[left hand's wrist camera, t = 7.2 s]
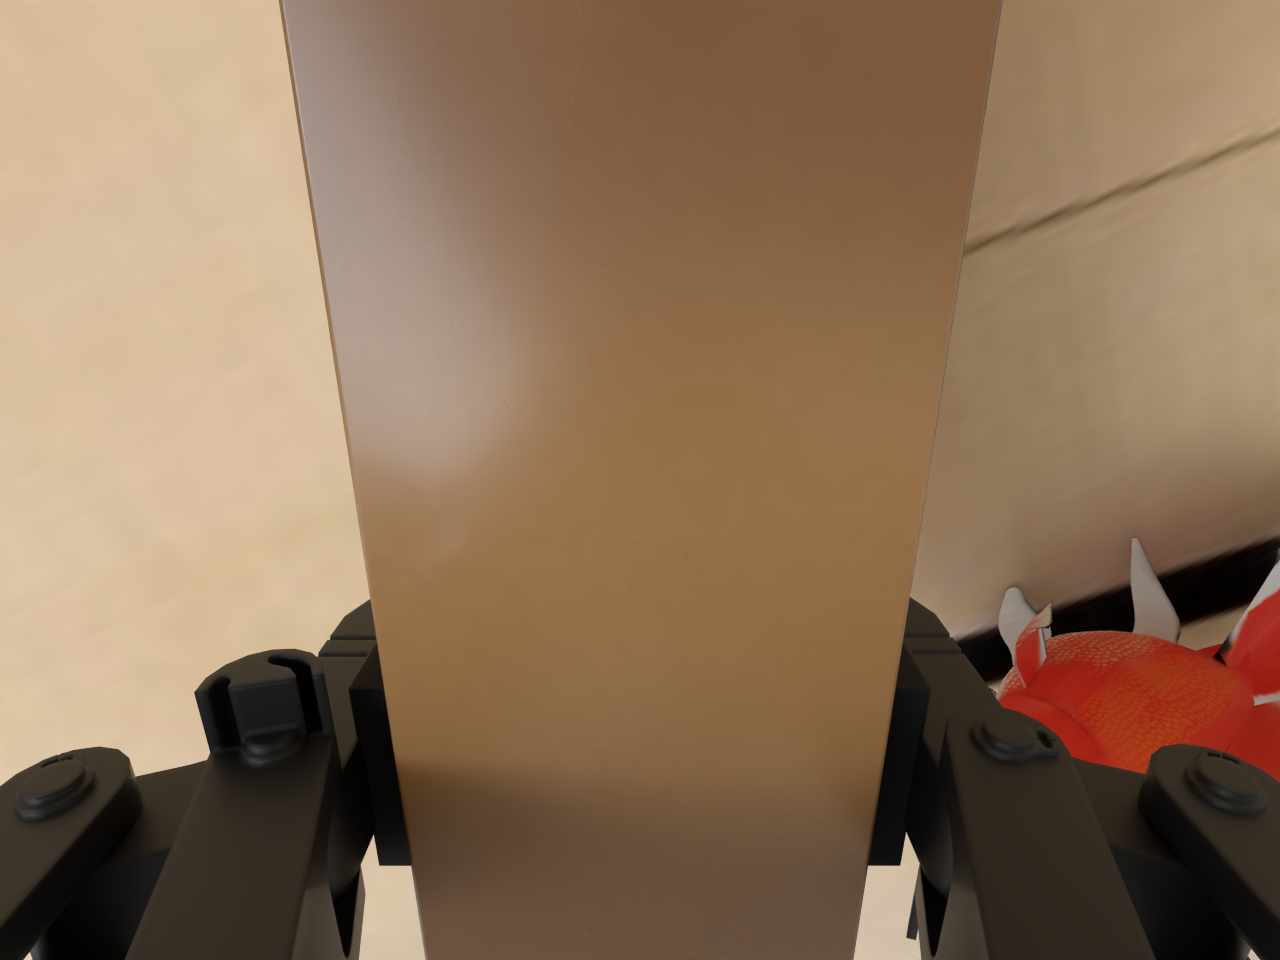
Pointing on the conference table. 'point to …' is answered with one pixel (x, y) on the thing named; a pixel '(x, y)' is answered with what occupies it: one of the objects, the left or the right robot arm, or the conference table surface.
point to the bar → (640, 438)
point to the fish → (1149, 679)
